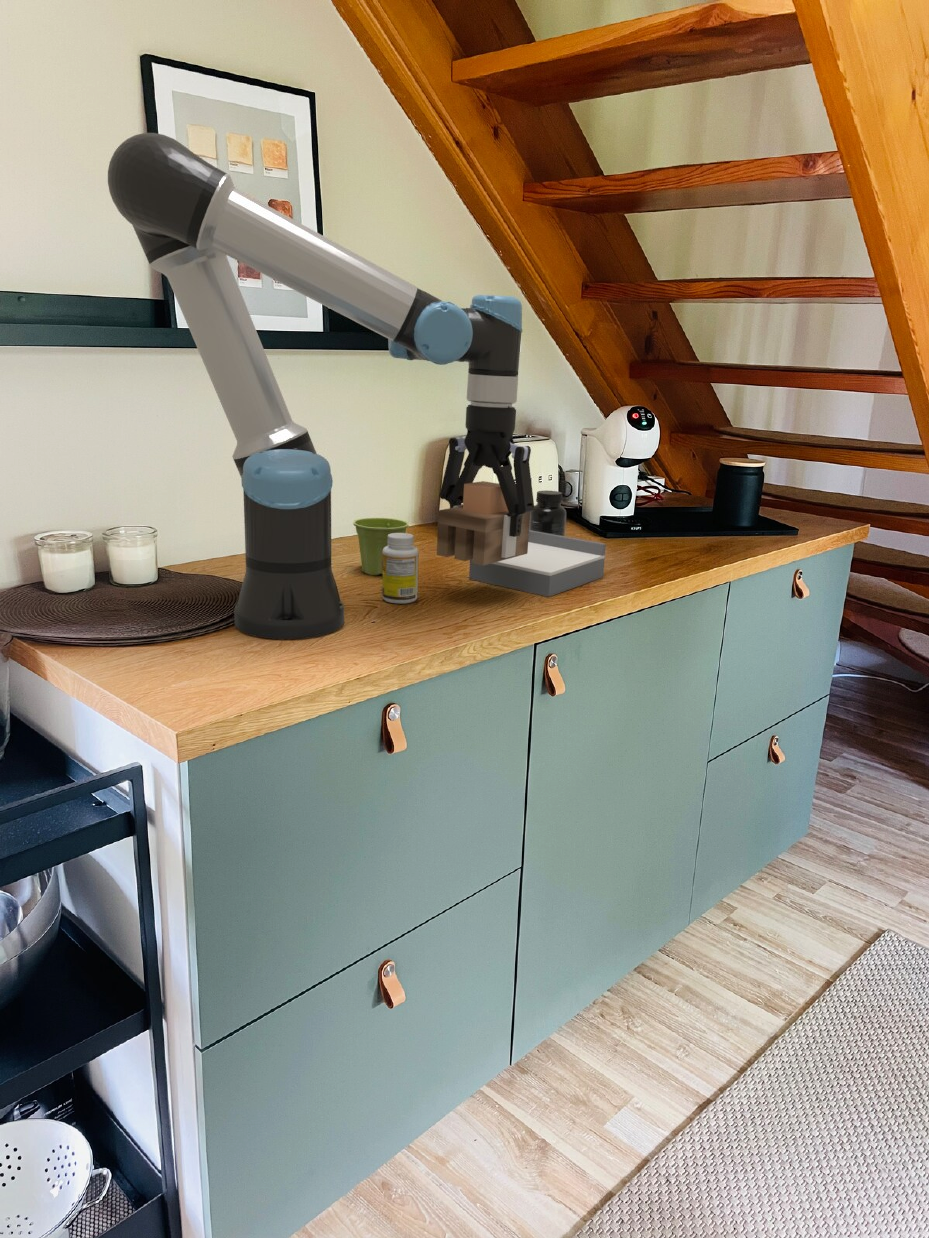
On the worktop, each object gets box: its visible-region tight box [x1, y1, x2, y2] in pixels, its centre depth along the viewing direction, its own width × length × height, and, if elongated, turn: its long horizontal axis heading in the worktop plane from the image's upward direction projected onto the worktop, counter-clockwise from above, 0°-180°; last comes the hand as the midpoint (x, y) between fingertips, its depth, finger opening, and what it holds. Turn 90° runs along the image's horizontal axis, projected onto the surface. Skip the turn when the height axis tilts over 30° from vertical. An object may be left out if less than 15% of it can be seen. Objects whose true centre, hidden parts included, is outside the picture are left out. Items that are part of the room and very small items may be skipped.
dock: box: [468, 530, 607, 598], centre depth 157 cm, size 18×16×6 cm
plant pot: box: [352, 517, 410, 576], centre depth 157 cm, size 9×9×9 cm
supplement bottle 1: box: [381, 532, 420, 605], centre depth 141 cm, size 6×6×10 cm
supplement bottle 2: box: [529, 490, 567, 537], centre depth 175 cm, size 7×7×12 cm
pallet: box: [436, 506, 530, 565], centre depth 143 cm, size 12×9×7 cm
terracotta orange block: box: [462, 480, 508, 515], centre depth 141 cm, size 5×5×4 cm
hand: (482, 550), depth 144 cm, fingers closed on pallet, 9 cm apart
